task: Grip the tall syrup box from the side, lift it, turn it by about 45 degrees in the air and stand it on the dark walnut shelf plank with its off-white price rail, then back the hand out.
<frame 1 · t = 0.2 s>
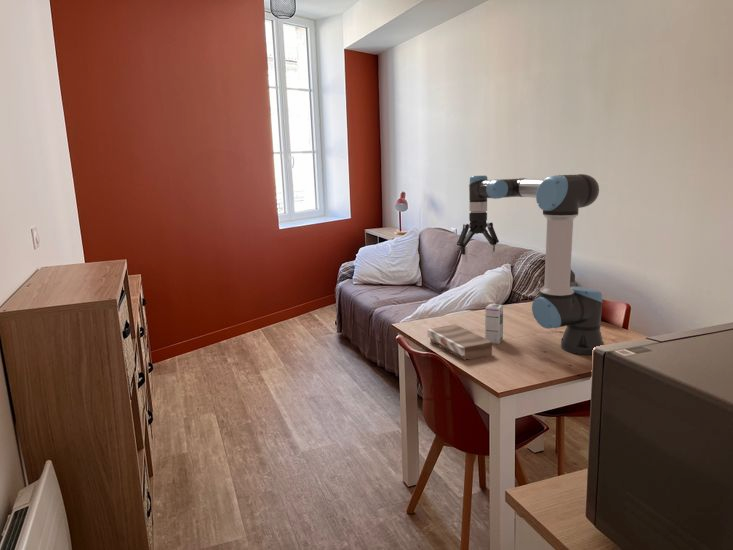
hand: (477, 260, 232), 27 cm above the table, tool pointing down, fingers open, 13 cm apart
liquor: (562, 309, 250), on the table
shelf: (459, 347, 204), on the table
syrup box: (493, 341, 211), on the table
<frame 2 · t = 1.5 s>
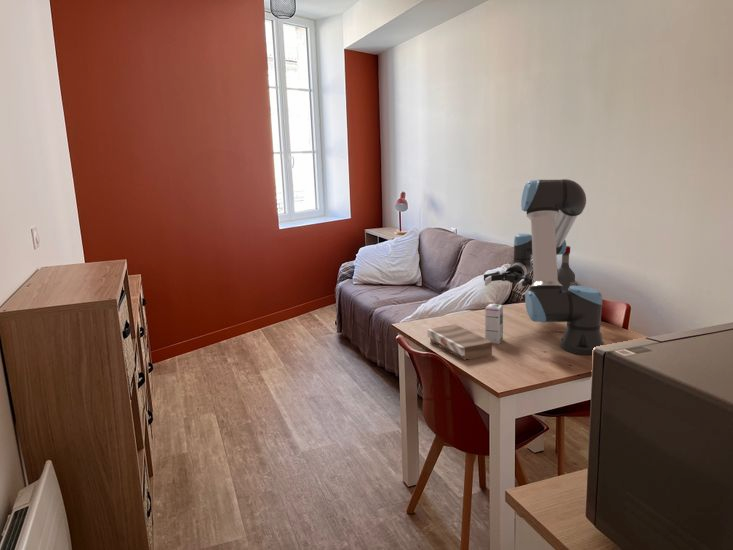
hand: (502, 284, 214), 21 cm above the table, tool horizontal, fingers open, 13 cm apart
nothing on the table moved.
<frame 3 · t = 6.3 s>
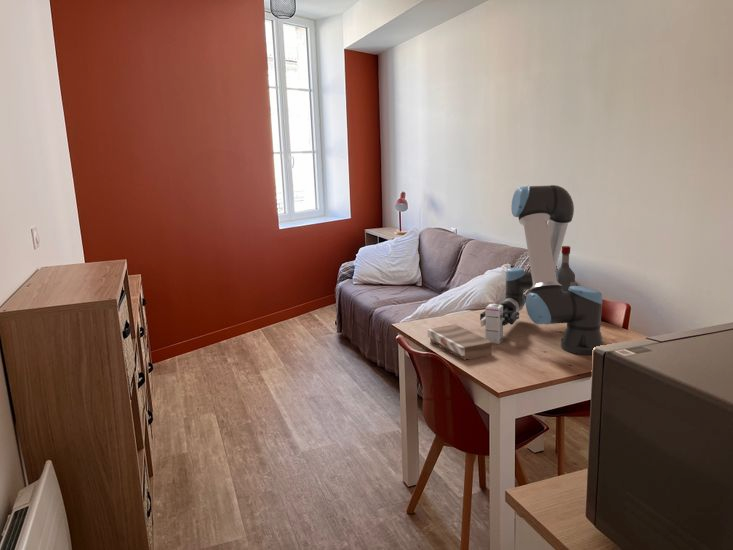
hand: (490, 324, 205), 8 cm above the table, tool horizontal, fingers closed on syrup box, 6 cm apart
syrup box: (493, 341, 211), on the table, touching gripper
everything else where it was.
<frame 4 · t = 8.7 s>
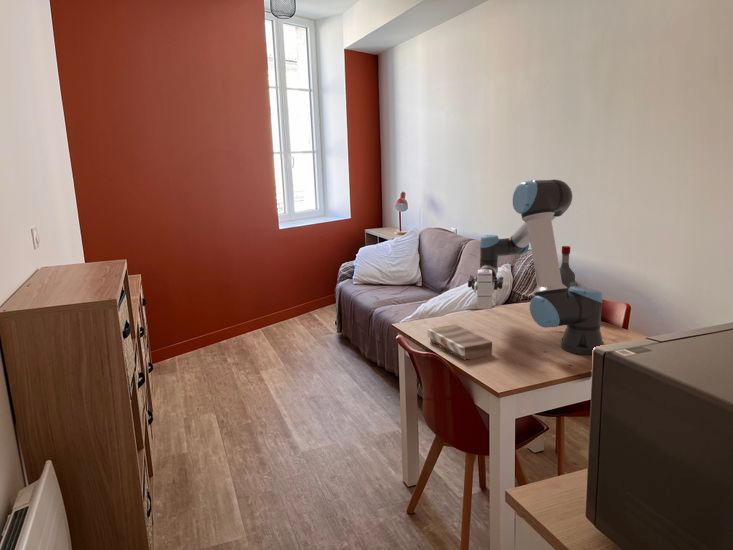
hand: (483, 289, 202), 22 cm above the table, tool horizontal, fingers closed on syrup box, 6 cm apart
syrup box: (484, 307, 209), point 14 cm above the table, touching gripper
everything else where it was.
when the fingers open (15 cm above the table, at t = 11.4 s): syrup box drops 1 cm, resting on shelf.
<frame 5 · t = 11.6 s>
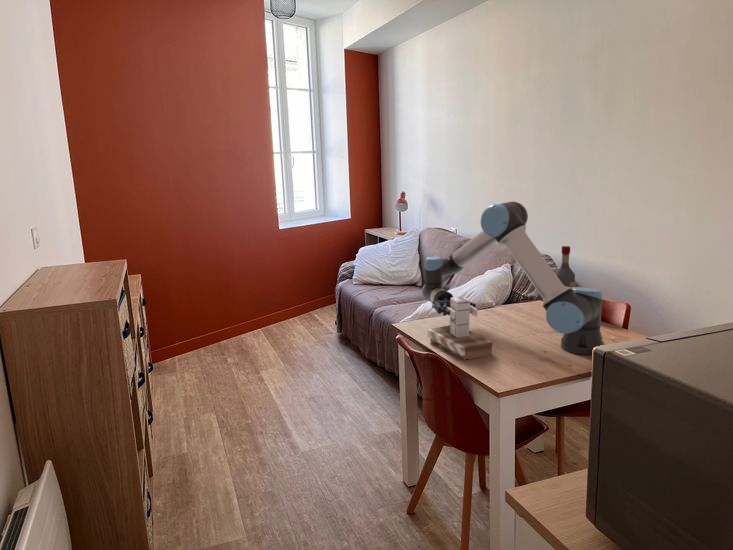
hand: (465, 314, 197), 15 cm above the table, tool horizontal, fingers open, 8 cm apart
syrup box: (459, 335, 203), point 5 cm above the table, touching shelf
everything else where it was.
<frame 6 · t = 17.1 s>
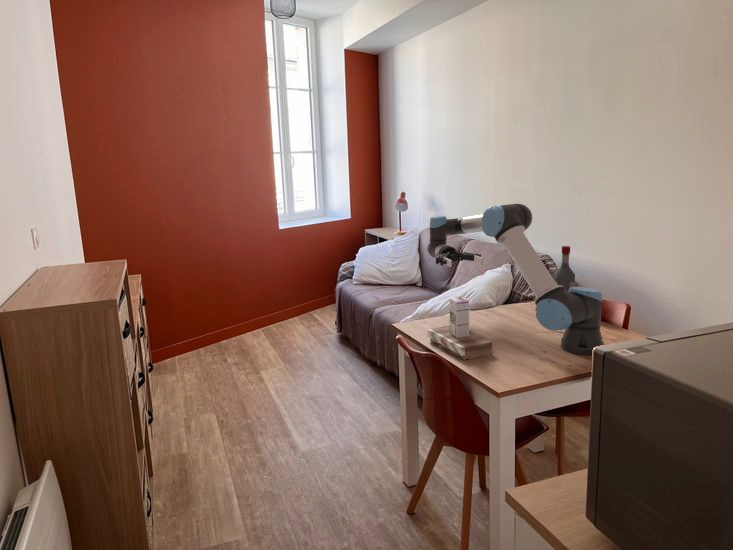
hand: (466, 262, 214), 30 cm above the table, tool horizontal, fingers open, 13 cm apart
nothing on the table moved.
at the end: syrup box inside the target area on the shelf (0.3 cm from its centre), point 4.8 cm above the shelf's base; syrup box tilted 0°; the gripper is holding nothing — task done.
